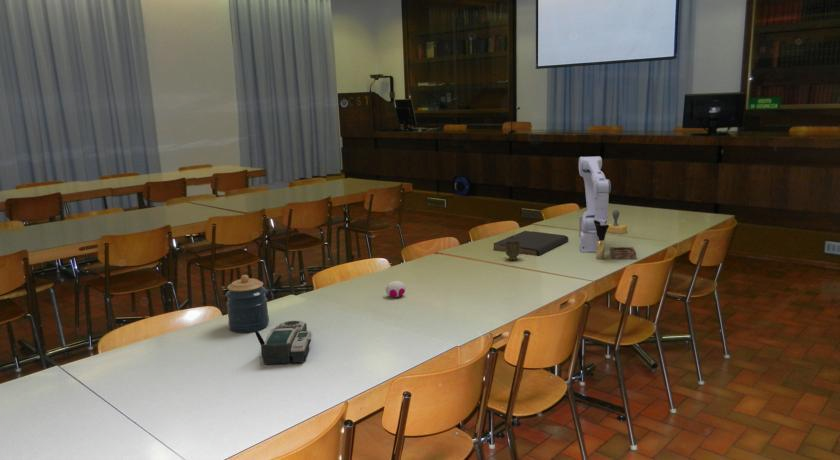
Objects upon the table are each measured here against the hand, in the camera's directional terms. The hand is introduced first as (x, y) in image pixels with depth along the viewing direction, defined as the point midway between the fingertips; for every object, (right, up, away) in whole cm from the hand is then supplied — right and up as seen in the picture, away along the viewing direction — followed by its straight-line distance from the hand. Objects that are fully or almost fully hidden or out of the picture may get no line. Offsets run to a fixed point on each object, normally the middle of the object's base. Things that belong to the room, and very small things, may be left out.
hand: (600, 238), depth 274 cm
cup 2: (+6, 0, +44) cm, 44 cm away
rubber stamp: (+23, +2, +52) cm, 57 cm away
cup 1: (-38, -10, +5) cm, 39 cm away
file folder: (-25, -5, +30) cm, 39 cm away
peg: (0, -9, +2) cm, 9 cm away
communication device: (-118, -32, -85) cm, 149 cm away
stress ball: (-88, -21, -42) cm, 100 cm away
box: (+11, -8, +4) cm, 14 cm away
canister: (-136, -28, -67) cm, 154 cm away
